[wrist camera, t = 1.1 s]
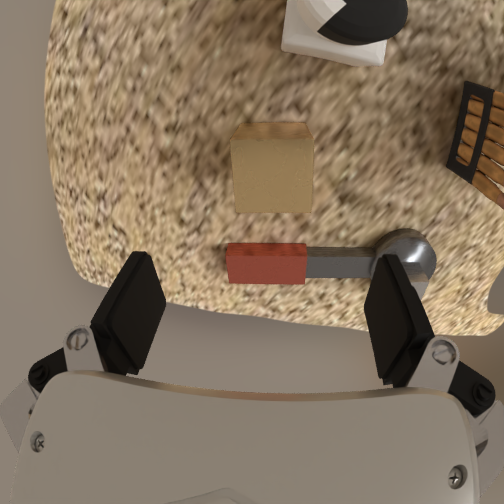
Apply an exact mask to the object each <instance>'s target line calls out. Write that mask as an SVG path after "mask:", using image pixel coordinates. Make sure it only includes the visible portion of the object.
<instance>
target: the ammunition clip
mask: <svg viewBox="0 0 504 504" xmlns="http://www.w3.org/2000/svg"><path fill="white" fill-rule="evenodd" d="M482 102H483V103H482ZM493 106H494V107H493ZM502 109H503V110H504V93H501V92H498V91H495V90H493V89H490V88H487V87H484V86H481V85H478V84H475V83H472V82H469V81H465V83H464V90H463V96H462V102H461V107H460V113H459V117H458V122H457V127H456V131H455V135H454V139H453V143H452V147H451V151H450V155H449V158H448V162H447V165H446V167H447V168H448V169H450V170H451V171H453V172H454V173H456V174H457V175H459V176H460V177H461V178H463V179H464V180H466V181H467V182H468V183H470V184H472V185H473V186H474V187H476V188H477V189H478V190H479V191H480V192H482V193H483V194H484V195H485V196H486V197H487V198H489V199H490V200H492V201H494V202H495V203H496V204H497V205H499V206H500V207H501V208H502V209H504V193H503V192H502V191H501V190H500V189H499V188H498V187H497V185H496V184H495V183H493V182H492V181H491V180H490V179H488V178H487V177H486V175H487V176H488V177H489V178H491V179H492V180H493V181H494V182H496V183H498V184H500V185H502V186H503V187H504V170H503V169H502V168H501V167H500V166H499V165H497V164H496V163H495V162H493V161H492V160H491V159H493V160H494V161H496V162H497V163H499V164H500V165H502V166H504V148H503V147H504V129H503V128H504V111H503V110H502ZM479 117H481V118H479ZM488 121H490V122H492V123H490V122H488ZM499 126H501V127H503V128H501V127H499ZM474 131H475V132H474ZM476 132H477V133H476ZM485 137H487V138H489V139H487V138H485ZM495 142H496V143H498V144H500V145H501V146H503V147H501V146H499V145H498V144H496V143H495ZM471 147H473V148H474V149H473V148H471ZM481 153H483V154H484V155H483V154H481ZM467 162H468V163H470V164H468V163H467ZM476 168H477V169H478V170H477V169H476Z"/></svg>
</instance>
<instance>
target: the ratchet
mask: <svg viewBox="0 0 504 504" xmlns="http://www.w3.org/2000/svg"><path fill="white" fill-rule="evenodd" d="M383 254H397V255H398V257H399V259H400V261H401V263H402V265H403V267H404V269H405V272H406V274H407V276H408V278H409V280H410V282H411V285H412V286H414V288H415V289H416V291H417V293H418V296H419V298H420V300H421V299H422V297H423V295H424V293H425V290H426V288H427V286H428V284H429V279H430V278H431V276H432V275H433V273H434V271H435V268H436V261H437V260H436V254H435V252H434V250H433V248H432V247H431V245H430V244H429V242H428V241H427V239H426V238H425V236H424V235H423V234H422V233H420V232H419V231H416V230H413V229H399V230H395V231H393V232H390V233H388V234H387V235H385V236H384V237H382V238H381V239H380V240H379V241H378V242H377V243H376V244H375V245H374V246H373V248H336V247H306V244H287V243H229V244H228V247H227V251H226V255H225V257H226V264H227V271H228V278H229V283H238V284H305V278H370V279H371V281H372V278H373V274H374V271H375V267H376V264H377V260H378V258H380V257H382V255H383Z"/></svg>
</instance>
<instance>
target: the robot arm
mask: <svg viewBox="0 0 504 504" xmlns="http://www.w3.org/2000/svg"><path fill="white" fill-rule="evenodd" d="M165 307H166V299H165V296H164V293H163V290H162V288H161V285H160V282H159V279H158V276H157V273H156V270H155V267H154V264H153V261H152V258H151V256H150V255H148V254H147V253H146V252H145V251H134V252H132V253H131V255H130V256H129V258H128V259H127V261H126V262H125V264H124V266H123V267H122V269H121V270H120V272H119V274H118V275H117V277H116V279H115V280H114V282H113V283H112V285H111V287H110V288H109V290H108V292H107V294H106V295H105V297H104V299H103V300H102V302H101V304H100V306H99V308H98V309H97V311H96V313H95V315H94V317H93V318H92V320H91V325H90V327H88V326H85V325H79V326H76V327H74V328H72V329H71V330H70V331H69V332H68V333H67V335H66V336H65V338H64V341H63V348H61V349H59V350H57V351H56V352H54V353H52V354H50V355H48V356H46V357H45V358H43V359H41V360H39V361H37V362H36V363H35V364H34V365H33V366H32V367H31V369H30V371H29V375H28V381H27V380H26V379H24V380H23V381H22V383H20V384H19V385H18V386H17V387H16V389H14V390H13V391H12V392H11V393H10V394H9V395H8V396H7V398H6V399H5V400H4V401H3V402H2V403H1V406H0V415H1V418H2V420H3V423H4V425H5V427H6V429H7V432H8V434H9V436H10V438H11V440H12V442H13V444H14V446H15V448H16V449H17V451H18V453H19V455H18V459H17V463H16V468H15V473H14V478H13V484H12V490H11V498H10V504H479V499H480V497H481V496H482V495H483V494H484V492H485V491H486V490H487V489H488V488H489V486H490V485H491V484H492V482H493V481H494V480H495V479H496V477H497V476H498V475H499V473H500V472H501V471H502V469H503V468H504V406H503V404H502V403H501V402H500V401H499V400H498V401H497V402H496V400H495V390H494V386H493V385H492V383H491V382H490V381H489V380H487V379H486V378H485V377H483V376H482V375H480V374H479V373H477V372H476V371H474V370H473V369H471V368H470V367H468V366H467V365H465V364H464V363H462V362H461V361H459V357H460V355H459V350H458V348H457V346H456V344H455V343H454V342H453V341H452V340H450V339H449V338H446V337H442V336H438V337H435V335H434V333H433V330H432V327H431V325H430V322H429V320H428V317H427V315H426V312H425V310H424V307H423V305H422V303H421V300H420V298H419V296H418V293H417V291H416V289H415V288H414V286H412V285H411V282H410V280H409V278H408V276H407V274H406V272H405V269H404V267H403V265H402V263H401V261H400V259H399V257H398V255H397V254H383V255H382V257H380V258H378V260H377V264H376V267H375V271H374V274H373V278H372V281H371V284H370V288H369V291H368V294H367V297H366V300H365V304H364V312H365V316H366V321H367V325H368V329H369V333H370V338H371V342H372V347H373V351H374V357H375V362H376V367H377V372H378V376H379V378H380V379H381V378H382V379H383V385H388V384H393V388H387V389H378V390H367V391H352V392H336V393H309V394H282V393H253V392H236V391H224V390H214V389H203V388H196V387H187V386H181V385H174V384H167V383H161V382H155V381H150V380H145V379H139V378H134V377H129V376H126V374H127V373H130V374H134V375H138V372H139V370H140V369H142V368H143V366H144V364H145V361H146V358H147V355H148V353H149V349H150V347H151V344H152V341H153V339H154V336H155V333H156V331H157V328H158V325H159V322H160V320H161V317H162V315H163V312H164V310H165Z"/></svg>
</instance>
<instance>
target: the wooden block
mask: <svg viewBox="0 0 504 504" xmlns="http://www.w3.org/2000/svg"><path fill="white" fill-rule="evenodd" d="M230 152H231V163H232V174H233V185H234V196H235V207H236V213H311V208H312V190H313V166H314V138H313V136H312V134H311V132H310V131H309V129H308V127H307V125H306V123H302V122H261V123H241V124H240V126H239V127H238V129H237V130H236V132H235V133H234V135H233V136H232V137H231V139H230Z"/></svg>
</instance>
